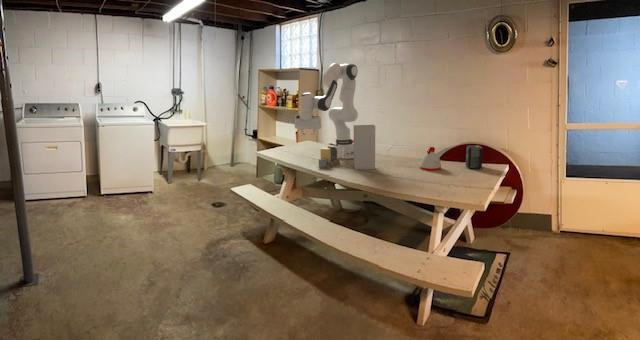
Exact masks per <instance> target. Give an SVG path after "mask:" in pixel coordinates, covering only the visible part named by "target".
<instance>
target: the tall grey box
mask: <svg viewBox="0 0 640 340" xmlns="http://www.w3.org/2000/svg"><path fill="white" fill-rule="evenodd" d="M353 140H354V143H353V144H354V158H353V169H354V170H355V171H356V170H358V169H360V170H376V125H375V124H357V125H356V124H355V125H354V124H353Z"/></svg>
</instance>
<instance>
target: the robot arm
mask: <svg viewBox="0 0 640 340" xmlns="http://www.w3.org/2000/svg"><path fill="white" fill-rule="evenodd" d="M357 67H358V66H357V65H355V64H353V63H343V64H340V63H338V62H333V63H332V64H330V65H329V66H328V68H327V69H325V72H324V73H323V75H322V77H321V80H322V83H323V85H324V86H325V87H326V88H327V90H326V92H325V94H324V95H323V96H315V95H313V94H312V93H311V92H304V93H302V94H301V95H300V97H299V98H300V101H299V102H300V103H299V104H300V109H301V110H300V114H296V115H294V128H295V129H297V130H300V132H301V133H302V136H305V135H306V132H305V130H312V132H311V136H315V132H316V131H317V130H321V128H322V122H321V121H322V119H321V116H319V115H314V111H323V112H326V111H328V117H329V120H331V121H332V123H333V125H334V128H335V136H336V137H335V147H336V148H337V159H338V158H340V159H343V160H347V159H354V139H352V138H351V129H350V127H349V126H348V125H347V124H346V123H351V122H356V121H357V119H358V117H359V113H358V110H357V108H355V105H354V97H355V92H356V85H357V83H356V82H357V81H356V78H357V75H358V73H359V72H358V68H357ZM339 79H340V80H342V84H341V87H340V93H339V98H338V99H339V101H340V102H341V103H342V106H341V107H340V106H336V107H332V108H331V105H332V101H333V99H334V96H335V94H336V91H337V88H338V81H339Z"/></svg>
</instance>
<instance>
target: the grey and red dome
mask: <svg viewBox="0 0 640 340" xmlns="http://www.w3.org/2000/svg"><path fill="white" fill-rule="evenodd" d="M435 150H436V147H434V146H429V149H428V150H427V152H426V153H425V154H424V155H423V156H422V158H420V159H421V160H420V164H419V169H420V170H422V171H428V172H431V171H432V172H436V171H441V169H442V164H441V163H442V162H441V159H440V158H439V156H438V154H436V152H435Z"/></svg>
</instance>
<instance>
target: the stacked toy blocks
mask: <svg viewBox="0 0 640 340" xmlns="http://www.w3.org/2000/svg"><path fill="white" fill-rule="evenodd" d="M327 148H330V153H331V162H330V163H328V164H327V168H326V169H330V168H332V167H333V166H334V167H335V165H338V164H339V163H340V162H341V161H340V159H341V158H337V148H336V146H331V145H329V146H327ZM314 168H317V169H318V168H319V165H317V166H316V167H314ZM319 169H320V168H319Z"/></svg>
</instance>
